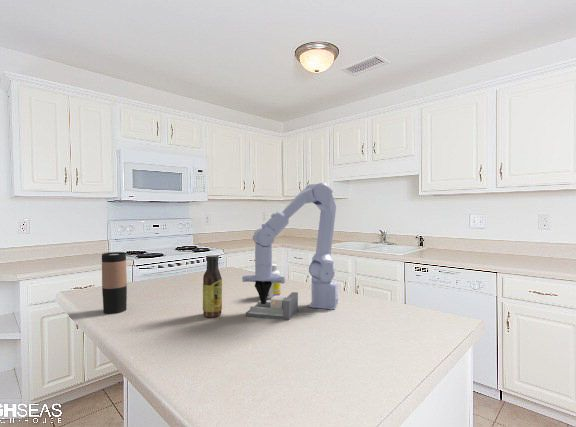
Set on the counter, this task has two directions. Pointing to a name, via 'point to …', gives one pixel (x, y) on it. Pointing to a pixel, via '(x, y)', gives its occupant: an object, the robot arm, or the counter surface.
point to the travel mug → (114, 282)
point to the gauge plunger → (277, 302)
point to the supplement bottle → (275, 286)
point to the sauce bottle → (212, 288)
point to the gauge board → (266, 312)
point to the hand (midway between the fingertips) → (263, 303)
